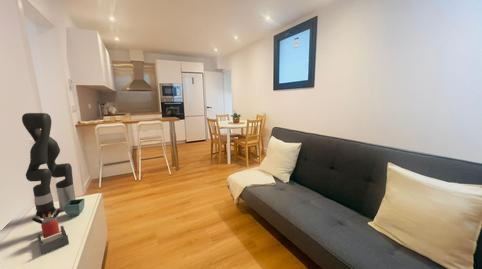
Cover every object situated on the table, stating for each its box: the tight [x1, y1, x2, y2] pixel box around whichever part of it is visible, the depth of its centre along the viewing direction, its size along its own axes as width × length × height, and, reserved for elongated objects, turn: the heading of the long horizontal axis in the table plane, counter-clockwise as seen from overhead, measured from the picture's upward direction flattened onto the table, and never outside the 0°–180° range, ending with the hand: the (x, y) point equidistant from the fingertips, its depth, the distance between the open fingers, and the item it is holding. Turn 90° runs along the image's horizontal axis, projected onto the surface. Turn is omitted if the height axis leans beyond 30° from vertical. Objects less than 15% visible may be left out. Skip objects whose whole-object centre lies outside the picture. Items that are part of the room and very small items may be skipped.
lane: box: [37, 225, 70, 256], centre depth 109 cm, size 18×11×5 cm, turn 49°
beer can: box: [40, 216, 61, 239], centre depth 111 cm, size 7×7×12 cm
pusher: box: [41, 231, 63, 245], centre depth 108 cm, size 1×8×4 cm, turn 139°
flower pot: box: [63, 198, 86, 217], centre depth 135 cm, size 9×9×9 cm
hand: (49, 227), depth 120 cm, fingers closed
